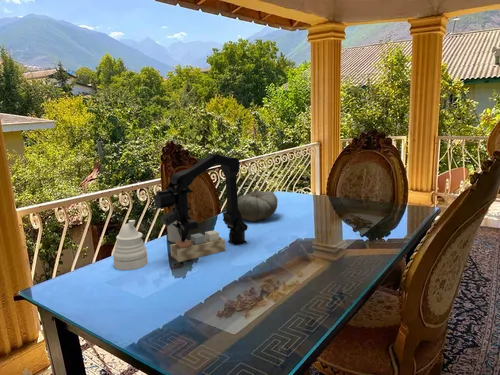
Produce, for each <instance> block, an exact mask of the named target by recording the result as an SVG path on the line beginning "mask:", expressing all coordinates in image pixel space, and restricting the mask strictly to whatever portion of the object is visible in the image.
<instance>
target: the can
mask: <svg viewBox="0 0 500 375" xmlns="http://www.w3.org/2000/svg"><path fill="white" fill-rule="evenodd" d="M172 224H174V222H173V223H172ZM172 224H170V225H169V226H166V227H167V240H168V241H169V242H170V243H172V244H176V241H177V240H181V238H180V235H179V232H178V230H177V228H176V227H175V226H173V225H172Z"/></svg>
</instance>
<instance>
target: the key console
mask: <svg viewBox="0 0 500 375" xmlns="http://www.w3.org/2000/svg"><path fill="white" fill-rule="evenodd" d="M225 240H226V239H224V238H223V237H220V236H219V240H216V241H212V242H208V241H207V240H205V243H203V244H199V245H194V244H192V243H191V239H190V240H189V241H190V247H185V248H181V249H179V248H178V247H176V243H172V244H170V245H169V246H170V257H172V258H173V259H174V260H176V262H178V263H181V262H184V261H188V260H192V259H193V260H194V259H196V258H201V257H204V256H205V257H206V256H209V255H213V254H217V253H221V252H224V251H226V241H225Z"/></svg>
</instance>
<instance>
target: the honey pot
mask: <svg viewBox="0 0 500 375" xmlns="http://www.w3.org/2000/svg"><path fill="white" fill-rule="evenodd" d="M135 223H136V219H130V220H128V223H125V224H124V225H123V226H122V227H121V229H120V231H119V233H118V234H117V235H116V237H115V239H116V242H115V246H114V250H113V253H112V256H113V265H114V266H113V267H114V269H117V270H118V271H120V270H121V271H130V270H132V271H133V270H136V269H137V270H138V269H140V268H142V267H144V266H146V265H147V264H148V261H149V260H148V252H147V248H146V246H145V243H144V240H143V239H142V238H143V236H144V235H143V233H142V232H140V231H138V230H137V228H136V227H135V226H134V225H135Z"/></svg>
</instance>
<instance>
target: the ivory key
mask: <svg viewBox="0 0 500 375" xmlns="http://www.w3.org/2000/svg"><path fill="white" fill-rule="evenodd" d="M204 236H205V240H207V241H208V242H212V241H216V240H219V237H220V232H218V231H216V230H214V229H213V230H209V231H205V232H204Z"/></svg>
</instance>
